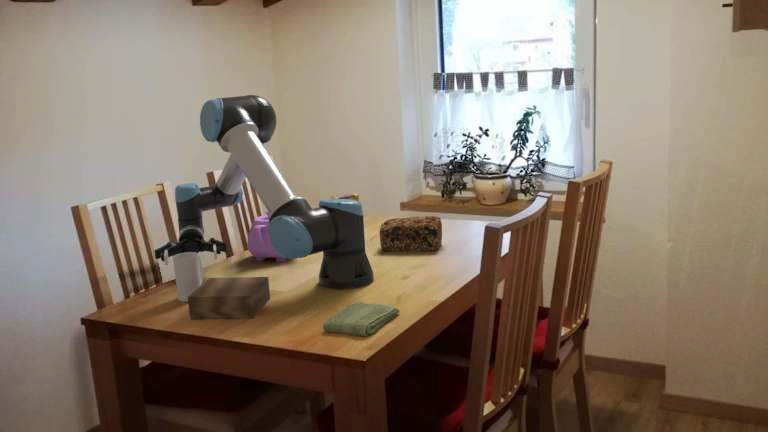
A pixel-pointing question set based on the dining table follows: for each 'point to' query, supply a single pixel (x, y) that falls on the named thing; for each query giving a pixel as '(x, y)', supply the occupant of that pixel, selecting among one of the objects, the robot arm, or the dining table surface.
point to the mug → (187, 273)
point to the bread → (411, 234)
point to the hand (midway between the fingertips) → (190, 257)
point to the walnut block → (229, 298)
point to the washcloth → (360, 318)
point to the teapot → (261, 240)
